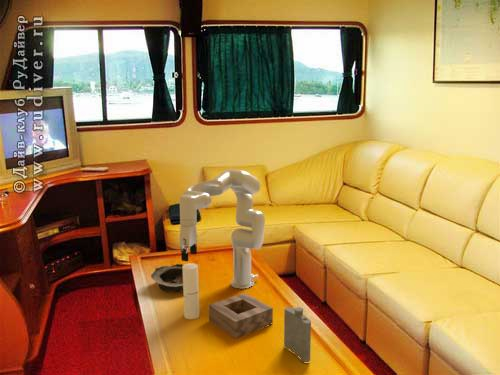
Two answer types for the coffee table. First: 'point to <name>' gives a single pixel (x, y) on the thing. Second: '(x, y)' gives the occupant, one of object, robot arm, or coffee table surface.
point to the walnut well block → (240, 315)
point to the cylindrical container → (191, 291)
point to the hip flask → (297, 332)
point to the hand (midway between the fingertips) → (189, 257)
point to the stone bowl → (169, 278)
